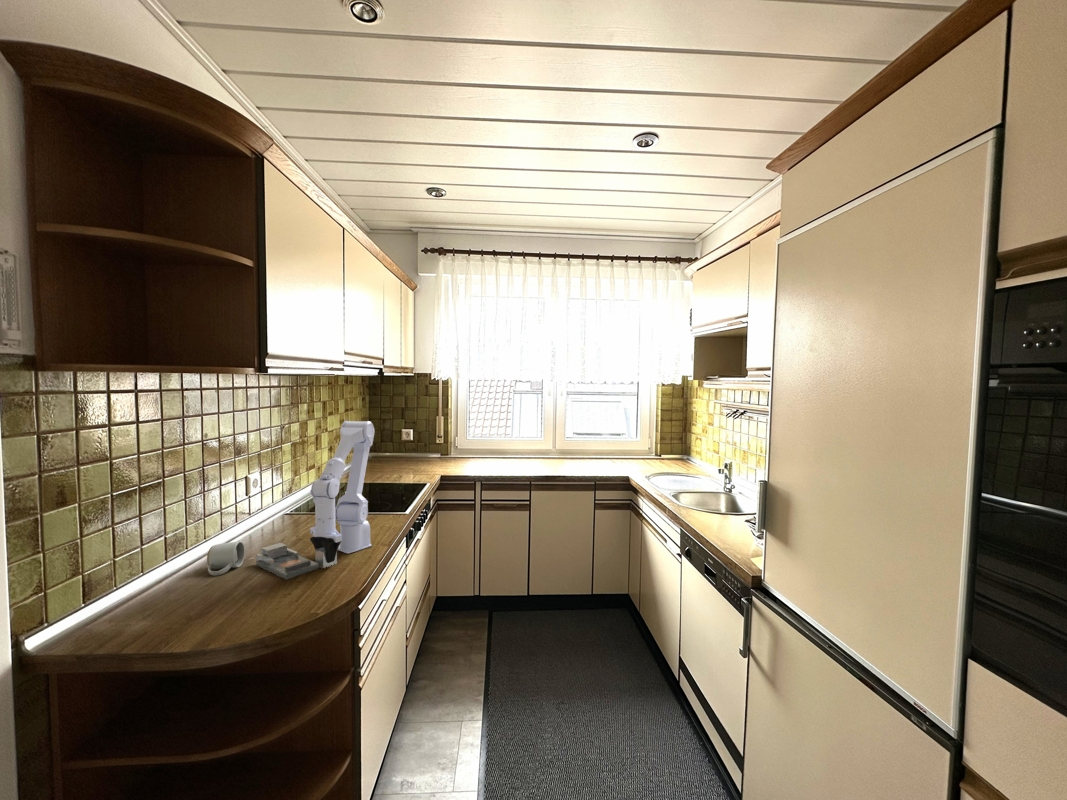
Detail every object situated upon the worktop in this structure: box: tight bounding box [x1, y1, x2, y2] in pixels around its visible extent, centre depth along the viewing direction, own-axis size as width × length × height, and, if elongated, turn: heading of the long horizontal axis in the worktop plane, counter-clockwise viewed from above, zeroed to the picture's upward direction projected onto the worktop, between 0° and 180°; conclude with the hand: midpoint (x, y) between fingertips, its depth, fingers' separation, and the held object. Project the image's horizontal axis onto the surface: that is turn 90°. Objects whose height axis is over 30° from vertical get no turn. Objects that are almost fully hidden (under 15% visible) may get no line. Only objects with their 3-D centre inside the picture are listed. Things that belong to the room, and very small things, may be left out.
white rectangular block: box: [314, 547, 338, 569], centre depth 146 cm, size 4×4×5 cm
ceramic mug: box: [206, 540, 246, 576], centre depth 142 cm, size 11×8×8 cm
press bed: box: [255, 547, 320, 580], centre depth 144 cm, size 10×20×3 cm, turn 55°
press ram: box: [260, 542, 288, 559], centre depth 148 cm, size 6×4×3 cm, turn 145°
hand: (326, 560), depth 146 cm, fingers closed on white rectangular block, 4 cm apart
